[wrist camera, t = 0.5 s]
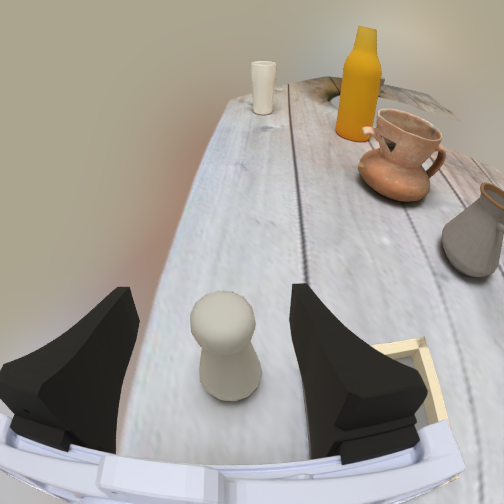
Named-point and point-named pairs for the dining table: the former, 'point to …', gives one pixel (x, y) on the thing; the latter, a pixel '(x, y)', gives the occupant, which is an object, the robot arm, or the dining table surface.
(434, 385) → the tray
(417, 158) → the ceramic jug
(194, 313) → the salt shaker
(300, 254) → the dining table surface
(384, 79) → the lighter
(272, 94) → the drinking glass
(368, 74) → the beer bottle
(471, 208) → the coffee pot
